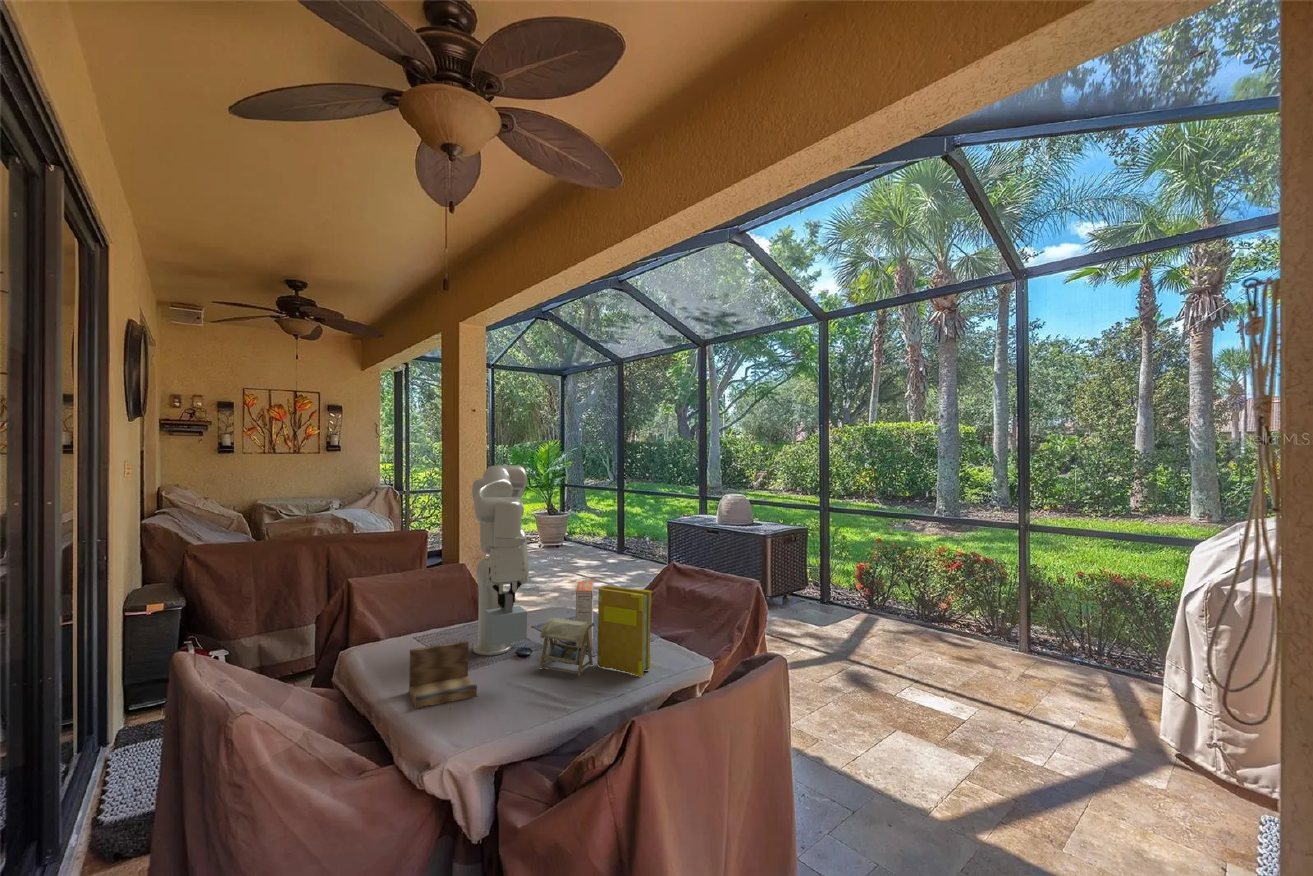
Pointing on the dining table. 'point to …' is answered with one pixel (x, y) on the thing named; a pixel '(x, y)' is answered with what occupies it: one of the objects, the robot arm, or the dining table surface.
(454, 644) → the cleat board
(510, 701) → the dining table surface
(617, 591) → the book
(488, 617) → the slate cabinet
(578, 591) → the cracker box
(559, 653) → the swing bench
